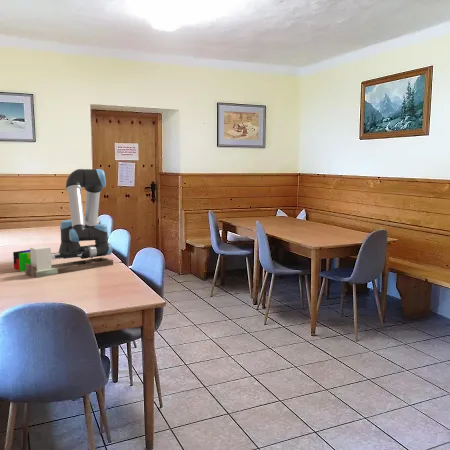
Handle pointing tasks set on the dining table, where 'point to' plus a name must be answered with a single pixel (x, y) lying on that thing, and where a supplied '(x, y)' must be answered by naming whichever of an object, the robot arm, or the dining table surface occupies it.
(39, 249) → the block
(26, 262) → the puzzle toy
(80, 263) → the trap box
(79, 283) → the dining table surface
